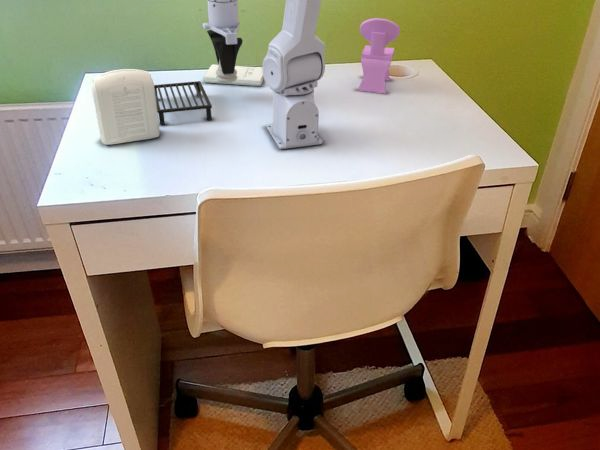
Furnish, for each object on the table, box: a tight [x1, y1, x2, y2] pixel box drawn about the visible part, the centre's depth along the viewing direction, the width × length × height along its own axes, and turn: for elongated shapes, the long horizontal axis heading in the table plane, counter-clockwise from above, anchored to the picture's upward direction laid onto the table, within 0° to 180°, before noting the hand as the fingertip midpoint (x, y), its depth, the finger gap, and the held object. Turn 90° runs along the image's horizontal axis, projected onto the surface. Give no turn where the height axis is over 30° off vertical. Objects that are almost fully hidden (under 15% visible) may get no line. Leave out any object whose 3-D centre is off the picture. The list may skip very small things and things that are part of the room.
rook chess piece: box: [216, 59, 237, 83], centre depth 110 cm, size 4×4×8 cm
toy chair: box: [357, 17, 401, 95], centre depth 118 cm, size 8×9×15 cm
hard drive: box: [203, 64, 264, 87], centre depth 123 cm, size 2×8×12 cm
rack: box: [154, 80, 213, 126], centre depth 108 cm, size 13×10×3 cm
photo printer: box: [91, 68, 161, 145], centre depth 95 cm, size 10×4×12 cm, turn 115°
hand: (226, 69), depth 111 cm, fingers closed on rook chess piece, 3 cm apart
